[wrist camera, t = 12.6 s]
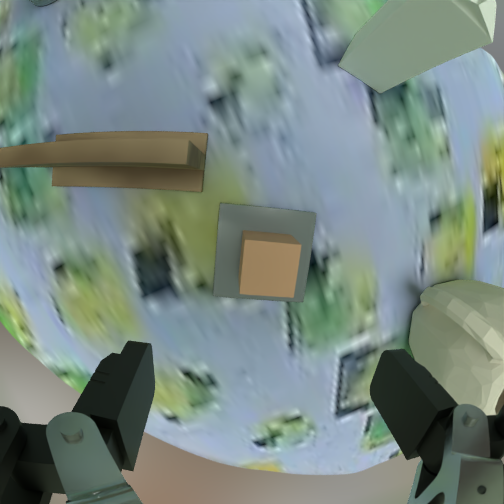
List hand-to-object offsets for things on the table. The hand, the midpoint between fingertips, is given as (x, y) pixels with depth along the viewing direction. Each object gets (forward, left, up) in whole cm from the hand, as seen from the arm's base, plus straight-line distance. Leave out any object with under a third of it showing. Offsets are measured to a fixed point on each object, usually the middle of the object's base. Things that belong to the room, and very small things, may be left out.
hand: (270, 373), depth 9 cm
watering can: (+9, +30, -23) cm, 39 cm away
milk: (-23, +12, -23) cm, 35 cm away
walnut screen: (-8, -14, -23) cm, 28 cm away
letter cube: (+1, +2, -22) cm, 22 cm away
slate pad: (+1, +2, -23) cm, 23 cm away
